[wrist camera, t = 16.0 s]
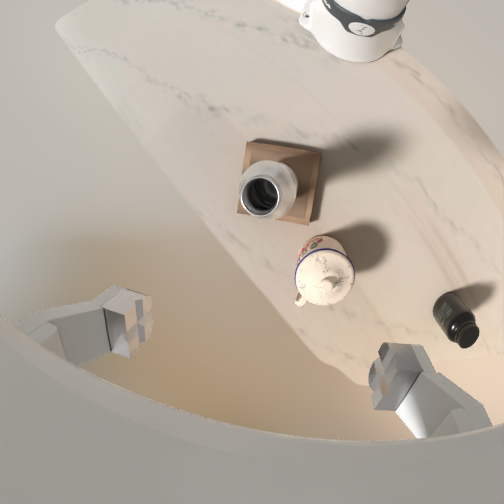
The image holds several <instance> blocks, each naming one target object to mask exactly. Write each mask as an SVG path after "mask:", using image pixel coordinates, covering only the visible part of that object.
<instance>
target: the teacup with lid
mask: <svg viewBox="0 0 504 504" xmlns="http://www.w3.org/2000/svg"><path fill="white" fill-rule="evenodd" d="M354 279H355V272H354V267H353V265H352V263H351V261H350V260H349V258H348V257H347V255H346V253H345V251H344V249H343V247H342V245H341V244H340V243H339V242H338V241H337V240H335V239H333V238H331V237H328V236H317V237H313V238H311V239H309V240H308V241H306V242H305V243H304V244H303V246H302V247H301V249H300V251H299V253H298V260H297V268H296V272H295V284H296V287H297V289H298V293H297V296H296V299H295V304H296V305H298V306H300V307H301V306H303V305H304V304H305V303H306V302H307V301H309V302H311V303H314V304H317V305H331V304H334V303H337V302H339V301H340V300H342V299H343V298H345V297H346V296H347V295H348V293H349V292H350V290H351V289H352V286H353V284H354Z"/></svg>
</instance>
